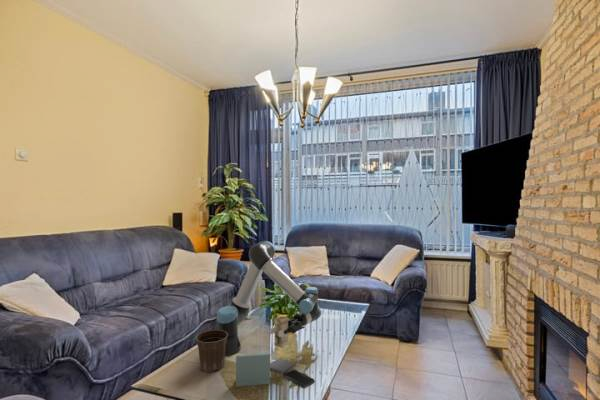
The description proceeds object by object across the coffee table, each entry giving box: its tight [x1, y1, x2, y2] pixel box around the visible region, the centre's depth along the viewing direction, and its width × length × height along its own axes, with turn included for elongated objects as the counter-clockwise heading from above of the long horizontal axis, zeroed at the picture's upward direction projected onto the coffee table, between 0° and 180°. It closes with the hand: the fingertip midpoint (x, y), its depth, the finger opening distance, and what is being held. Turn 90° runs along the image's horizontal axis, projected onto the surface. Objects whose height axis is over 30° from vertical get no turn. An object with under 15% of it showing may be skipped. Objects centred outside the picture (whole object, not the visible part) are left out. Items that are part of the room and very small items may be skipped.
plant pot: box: [195, 329, 228, 373], centre depth 178 cm, size 16×16×16 cm
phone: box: [282, 368, 315, 389], centre depth 166 cm, size 8×1×15 cm
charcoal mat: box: [270, 357, 297, 375], centre depth 178 cm, size 11×11×1 cm
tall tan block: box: [274, 315, 289, 348], centre depth 178 cm, size 5×5×14 cm
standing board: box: [235, 353, 271, 387], centre depth 163 cm, size 5×16×13 cm, turn 97°
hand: (274, 332), depth 174 cm, fingers closed on tall tan block, 5 cm apart
